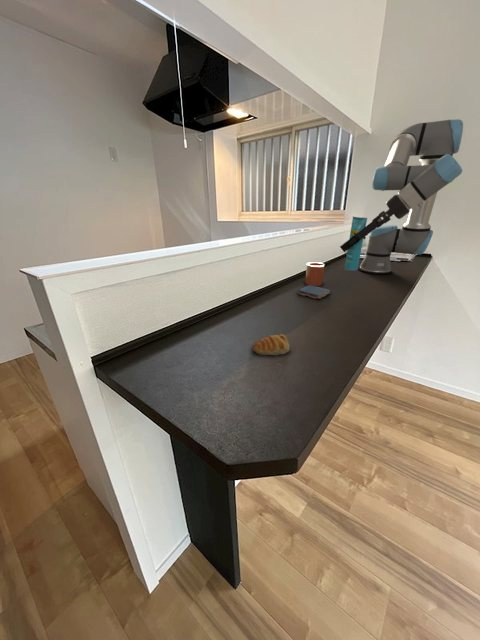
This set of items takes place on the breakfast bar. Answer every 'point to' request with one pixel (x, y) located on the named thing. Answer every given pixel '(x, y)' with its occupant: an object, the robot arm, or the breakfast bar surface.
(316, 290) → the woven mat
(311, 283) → the cup
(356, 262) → the tube
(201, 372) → the breakfast bar surface
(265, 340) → the pastry
